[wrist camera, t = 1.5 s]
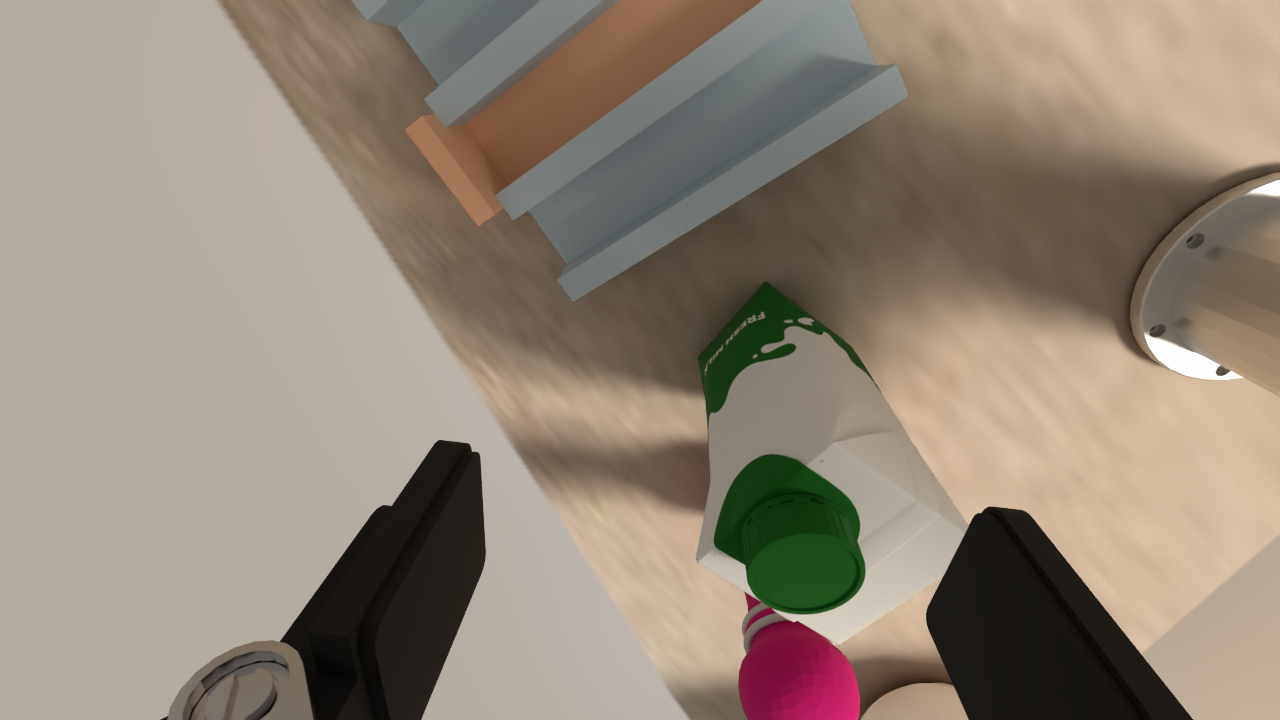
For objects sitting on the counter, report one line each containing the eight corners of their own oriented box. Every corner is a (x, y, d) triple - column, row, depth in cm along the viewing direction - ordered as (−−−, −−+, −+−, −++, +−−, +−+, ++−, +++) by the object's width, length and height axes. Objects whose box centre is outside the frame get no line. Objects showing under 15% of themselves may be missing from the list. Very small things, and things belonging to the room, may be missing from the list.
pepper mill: (695, 497, 43) (703, 789, 25) (746, 432, 40) (795, 715, 22) (772, 533, 44) (831, 837, 26) (827, 473, 41) (936, 773, 23)
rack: (712, -315, 23) (720, -423, 18) (881, 94, 29) (921, 97, 24) (369, 13, 29) (305, 0, 24) (569, 289, 36) (550, 322, 31)
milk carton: (763, 261, 34) (850, 460, 16) (868, 341, 36) (1048, 597, 18) (678, 360, 37) (672, 610, 20) (777, 427, 39) (853, 711, 22)
